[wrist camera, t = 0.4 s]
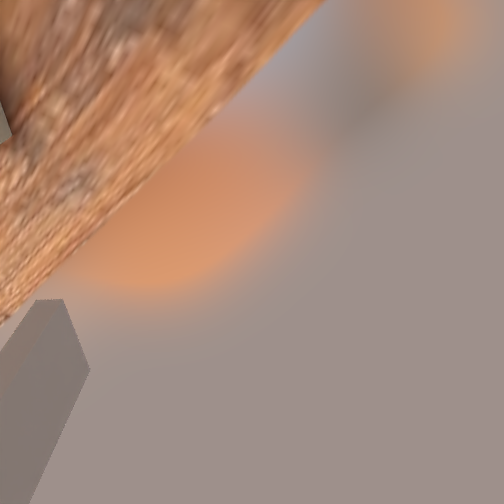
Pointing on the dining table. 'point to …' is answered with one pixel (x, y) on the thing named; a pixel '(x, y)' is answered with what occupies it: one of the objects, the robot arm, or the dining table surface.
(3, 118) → the socket
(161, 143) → the dining table surface
